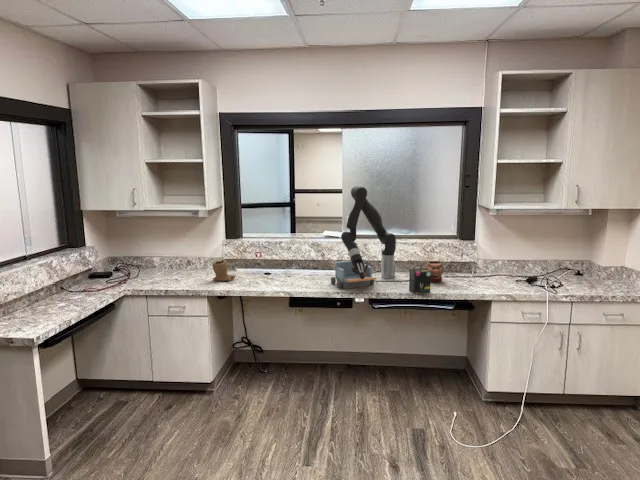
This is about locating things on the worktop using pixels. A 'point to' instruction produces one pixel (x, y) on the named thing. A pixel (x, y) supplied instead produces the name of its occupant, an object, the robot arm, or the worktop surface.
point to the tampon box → (420, 281)
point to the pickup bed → (350, 275)
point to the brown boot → (222, 271)
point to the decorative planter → (435, 271)
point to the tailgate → (360, 279)
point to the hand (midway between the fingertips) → (363, 278)
